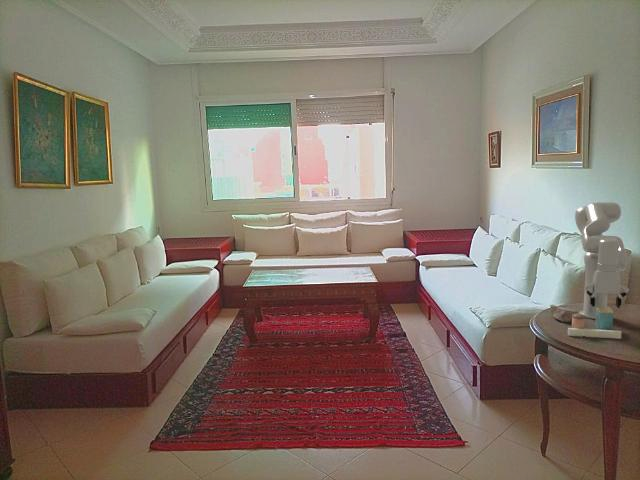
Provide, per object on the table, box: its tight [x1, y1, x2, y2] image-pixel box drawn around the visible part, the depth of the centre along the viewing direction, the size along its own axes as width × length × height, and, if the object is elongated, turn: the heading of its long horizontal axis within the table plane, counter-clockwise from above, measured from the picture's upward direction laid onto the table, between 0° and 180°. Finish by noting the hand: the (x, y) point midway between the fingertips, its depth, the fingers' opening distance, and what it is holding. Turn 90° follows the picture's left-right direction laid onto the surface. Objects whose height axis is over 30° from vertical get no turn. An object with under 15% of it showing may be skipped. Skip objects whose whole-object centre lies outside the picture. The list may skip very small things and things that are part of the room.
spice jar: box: [571, 313, 586, 329], centre depth 213 cm, size 5×5×8 cm
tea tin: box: [594, 306, 615, 330], centre depth 215 cm, size 5×7×9 cm
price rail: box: [567, 327, 622, 340], centre depth 208 cm, size 1×20×3 cm, turn 74°
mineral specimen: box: [549, 304, 579, 323], centre depth 229 cm, size 13×7×6 cm, turn 44°
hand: (605, 306), depth 214 cm, fingers open, 9 cm apart
